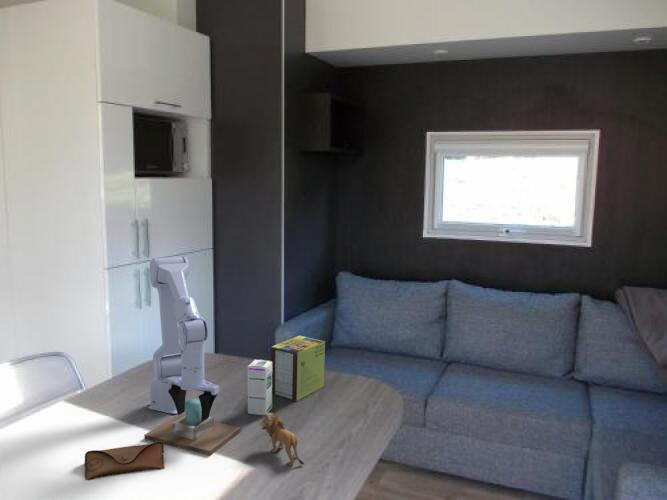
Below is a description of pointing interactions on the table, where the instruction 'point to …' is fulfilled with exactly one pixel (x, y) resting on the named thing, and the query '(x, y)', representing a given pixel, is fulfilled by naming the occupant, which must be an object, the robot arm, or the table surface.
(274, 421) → the lion figurine
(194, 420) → the peg
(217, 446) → the socket board
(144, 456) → the sunglasses case
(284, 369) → the protein box
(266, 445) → the table surface
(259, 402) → the syrup box
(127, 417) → the table surface
